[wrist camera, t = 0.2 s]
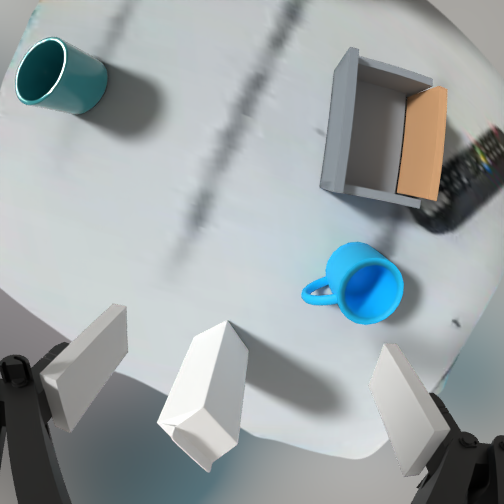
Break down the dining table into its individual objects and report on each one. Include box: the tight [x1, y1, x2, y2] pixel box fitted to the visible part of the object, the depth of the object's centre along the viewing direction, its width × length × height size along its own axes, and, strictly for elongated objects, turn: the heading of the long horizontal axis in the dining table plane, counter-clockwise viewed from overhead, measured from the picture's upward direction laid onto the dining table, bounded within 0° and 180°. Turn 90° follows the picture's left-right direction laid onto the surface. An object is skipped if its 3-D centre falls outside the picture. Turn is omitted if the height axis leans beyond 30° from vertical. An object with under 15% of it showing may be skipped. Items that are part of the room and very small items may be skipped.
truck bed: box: [320, 47, 433, 209], centre depth 33 cm, size 16×11×9 cm
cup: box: [15, 37, 108, 114], centre depth 32 cm, size 9×12×11 cm
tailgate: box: [397, 86, 447, 201], centre depth 33 cm, size 13×1×8 cm, turn 172°
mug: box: [301, 242, 404, 325], centre depth 38 cm, size 12×8×8 cm
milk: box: [157, 320, 249, 472], centre depth 35 cm, size 6×6×22 cm
